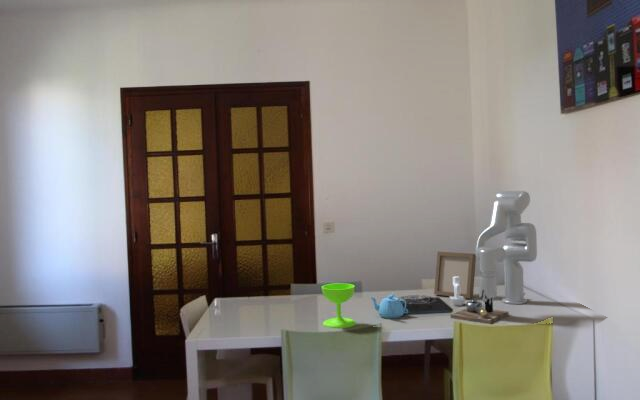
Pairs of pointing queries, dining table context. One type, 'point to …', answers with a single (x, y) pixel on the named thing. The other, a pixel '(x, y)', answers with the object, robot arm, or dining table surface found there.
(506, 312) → the stand board
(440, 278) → the photo frame
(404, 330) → the dining table surface
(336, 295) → the wineglass
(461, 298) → the figurine
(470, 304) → the grey metal elongated piece
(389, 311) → the teapot
